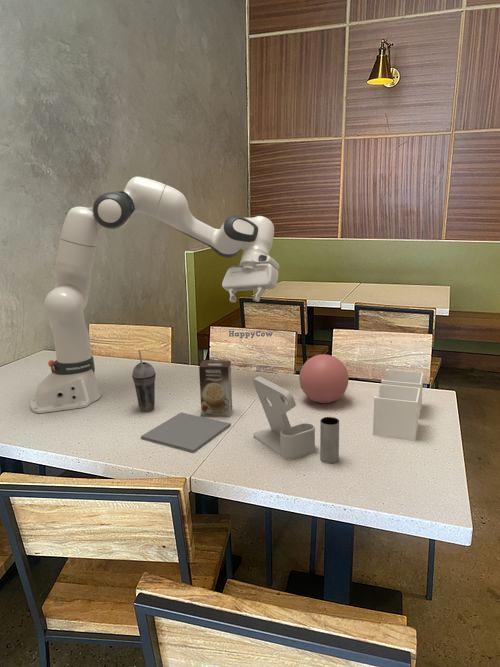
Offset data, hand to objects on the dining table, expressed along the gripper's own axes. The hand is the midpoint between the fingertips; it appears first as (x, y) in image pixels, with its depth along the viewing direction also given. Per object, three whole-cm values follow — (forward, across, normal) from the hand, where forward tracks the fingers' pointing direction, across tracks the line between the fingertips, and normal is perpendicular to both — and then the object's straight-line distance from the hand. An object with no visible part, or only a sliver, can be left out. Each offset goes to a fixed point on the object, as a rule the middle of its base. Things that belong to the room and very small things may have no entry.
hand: (243, 301), depth 158 cm
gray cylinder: (+44, +40, +1) cm, 59 cm away
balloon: (+23, +21, +28) cm, 42 cm away
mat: (+45, -1, -9) cm, 46 cm away
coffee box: (+36, -2, +4) cm, 36 cm away
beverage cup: (+40, -23, -6) cm, 46 cm away
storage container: (+27, +46, +28) cm, 60 cm away
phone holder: (+42, +26, +1) cm, 49 cm away
